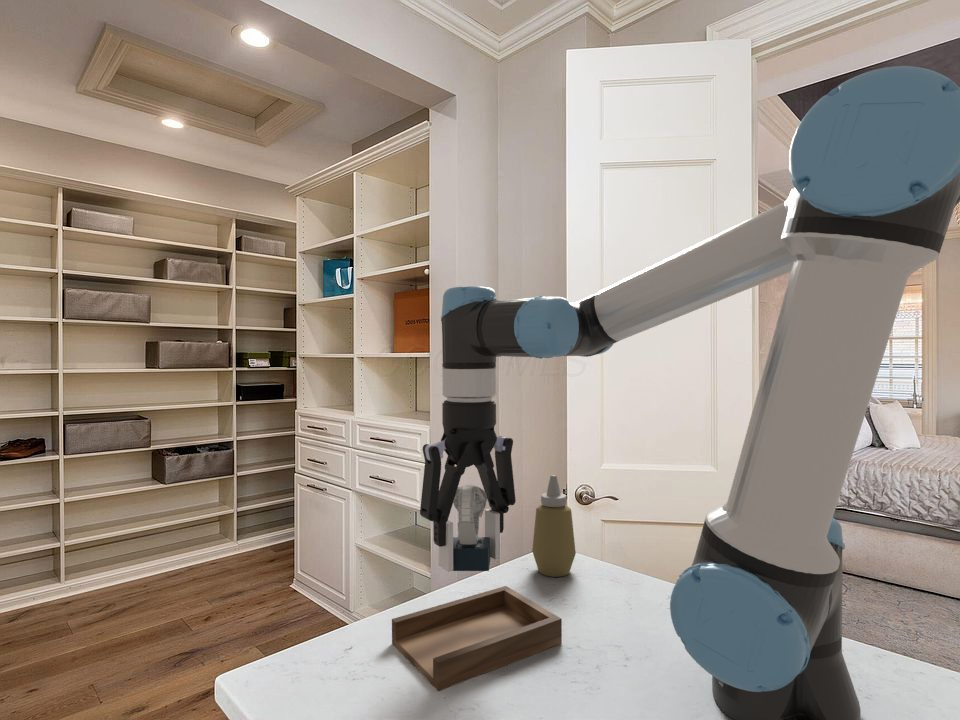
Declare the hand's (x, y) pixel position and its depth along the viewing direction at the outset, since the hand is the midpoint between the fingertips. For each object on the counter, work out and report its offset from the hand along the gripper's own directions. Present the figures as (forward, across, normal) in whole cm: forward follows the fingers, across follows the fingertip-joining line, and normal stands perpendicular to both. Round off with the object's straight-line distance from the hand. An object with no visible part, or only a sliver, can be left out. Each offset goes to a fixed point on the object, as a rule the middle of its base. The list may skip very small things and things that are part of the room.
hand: (469, 561), depth 79 cm
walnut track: (+12, -1, 0) cm, 12 cm away
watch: (+1, 0, 0) cm, 1 cm away
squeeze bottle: (+12, -27, -13) cm, 32 cm away
